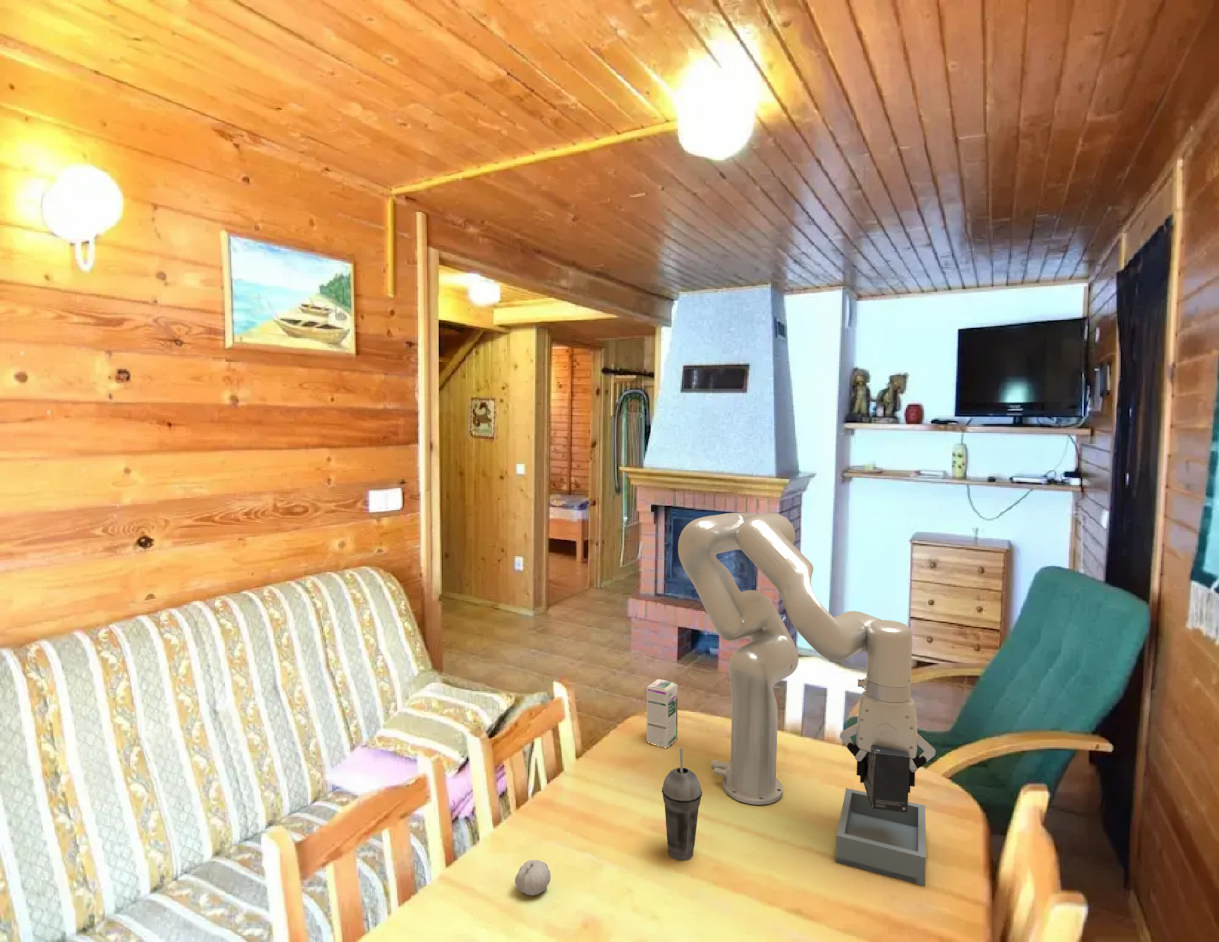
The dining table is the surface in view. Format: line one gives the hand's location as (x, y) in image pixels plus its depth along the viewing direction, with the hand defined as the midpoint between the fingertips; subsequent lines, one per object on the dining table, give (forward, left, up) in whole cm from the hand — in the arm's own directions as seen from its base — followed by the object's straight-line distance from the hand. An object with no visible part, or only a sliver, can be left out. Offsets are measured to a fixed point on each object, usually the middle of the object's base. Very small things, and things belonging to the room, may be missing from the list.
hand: (885, 783), depth 124 cm
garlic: (-52, -38, -12) cm, 66 cm away
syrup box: (-51, +21, -12) cm, 57 cm away
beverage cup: (-33, -18, -12) cm, 40 cm away
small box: (0, 0, -3) cm, 3 cm away
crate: (0, 0, -12) cm, 12 cm away
